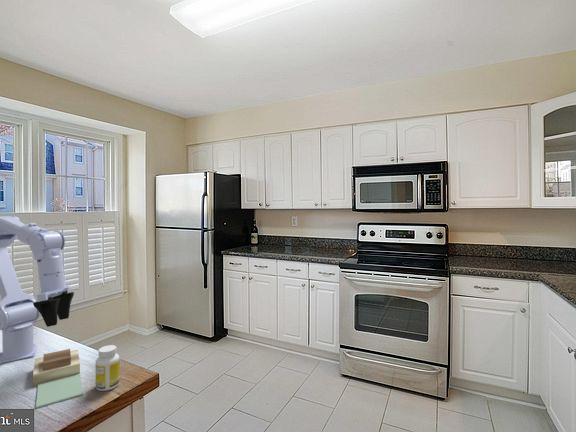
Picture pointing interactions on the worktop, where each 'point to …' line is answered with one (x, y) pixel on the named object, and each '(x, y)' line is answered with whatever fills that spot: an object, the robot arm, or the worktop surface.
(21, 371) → the worktop surface
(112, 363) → the supplement bottle
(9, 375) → the worktop surface
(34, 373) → the birch board
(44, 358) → the walnut coaster
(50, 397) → the green mat
